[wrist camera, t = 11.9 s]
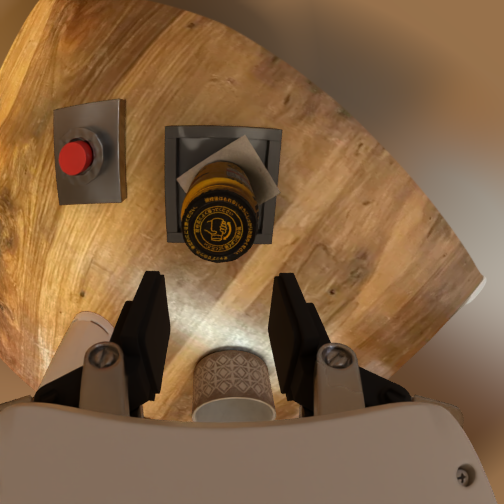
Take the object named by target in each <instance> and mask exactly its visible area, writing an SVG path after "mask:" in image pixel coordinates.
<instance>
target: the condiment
mask: <svg viewBox="0 0 504 504" xmlns="http://www.w3.org/2000/svg"><path fill="white" fill-rule="evenodd" d="M176 180H177V181H178V183H179V184H180V186H181V187H182V188H183V190H184V191H185V193H186V196H185V198H184V201H183V204H182V209H181V220H182V222H181V232H182V235H183V240H184V242H185V243H186V245H187V246H188V247H189V249H190V250H191V251H192V252H193V253H194V254H195V255H197V256H199V257H200V258H202V259H204V260H208V261H211V262H215V263H221V262H228V261H233V260H236V259H237V258H239V257H240V256H242V255H243V254H245V253H246V252H247V251H248V250H249V249H250V248H251V247H252V245H253V243H254V241H255V237H256V236H257V230H258V220H259V208H258V206H259V205H261V204H262V203H264V202H266V201H267V200H269V199H271V198H273V197H275V196H276V195H278V194H280V191H279V189H278V187H277V186H276V184H275V182H274V181H273V179H272V177H271V176H270V174H269V172H268V171H267V169H266V168H265V166H264V164H263V163H262V161H261V159H260V158H259V156H258V154H257V153H256V151H255V150H254V148H253V146H252V145H251V143H250V142H249V140H248V138H247V137H246V135H244V136H242V137H240V138H239V139H237V140H235V141H234V142H232V143H230V144H229V145H227V146H226V147H224V148H222V149H221V150H219V151H218V152H216V153H214V154H213V155H211V156H210V157H208V158H206V159H205V160H203V161H202V162H200V163H199V164H197V165H196V166H194V167H193V168H191V169H190V170H188V171H187V172H185V173H184V174H182V175H181V176H180V177H178V178H177V179H176Z"/></svg>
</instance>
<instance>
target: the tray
mask: <svg viewBox="0 0 504 504" xmlns="http://www.w3.org/2000/svg"><path fill="white" fill-rule="evenodd" d="M244 135H246V137H247V138H248V140H249V142H250V143H251V145H252V146H253V148H254V150H255V151H256V153H257V154H258V156H259V158H260V159H261V161H262V163H263V164H264V166H265V168H266V169H267V171H268V172H269V174H270V176H271V177H272V179H273V181H274V182H275V184H276V186H277V184H278V174H279V162H280V151H281V139H282V130H280V129H273V128H260V127H243V126H213V125H182V126H165V206H166V229H167V242H171V243H185V242H184V240H183V235H182V232H181V222H182V220H181V209H182V204H183V201H184V198H185V196H186V193H185V191H184V190H183V188H182V187H181V186H180V184H179V183H178V181H177V180H176V179H177V178H178V177H180V176H181V175H182V174H184V173H185V172H187V171H188V170H190V169H191V168H193V167H194V166H196V165H197V164H199V163H200V162H202V161H203V160H205V159H206V158H208V157H210V156H211V155H213V154H214V153H216V152H218V151H219V150H221V149H222V148H224V147H226V146H227V145H229V144H230V143H232V142H234V141H235V140H237V139H239V138H240V137H242V136H244ZM275 206H276V196H275V197H273V198H271V199H269V200H267V201H266V202H264V203H262V204H261V205H259V206H258V208H259V220H258V230H257V236H256V237H255V241H254V243H253V244H272V234H273V226H274V216H275Z"/></svg>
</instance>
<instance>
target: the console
mask: <svg viewBox="0 0 504 504" xmlns="http://www.w3.org/2000/svg"><path fill="white" fill-rule="evenodd" d="M125 103H126V100H124V99H113V100H106V101H99V102H92V103H86V104H81V105H75V106H70V107H65V108H60V109H56V110H54V155H55V170H56V181H57V190H58V198H59V205H73V204H95V203H121V202H123V201H124V200H125V199H126V198H127V189H126V169H125ZM79 140H81V141H84V142H86V143H87V144H88V145H89V146H90V148H91V150H92V162H91V164H90V166H89V167H88V168H87V169H86V170H85V171H83V172H81V173H79V174H76V175H68V174H66V173H65V172H64V171H63V170H62V169H61V167H60V164H59V154H60V151H61V149H62V148H63V147H64V146H65V145H66V144H67V143H70V142H74V141H79Z"/></svg>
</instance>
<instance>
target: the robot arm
mask: <svg viewBox="0 0 504 504" xmlns="http://www.w3.org/2000/svg"><path fill="white" fill-rule="evenodd" d="M268 333H269V338H270V343H271V348H272V353H273V357H274V362H275V367H276V371H277V376H278V381H279V386H280V390H281V393H282V394H285V393H286V397H287V401H292V400H294V401H295V402H297V403H298V404H300V412H299V418H295V419H285V420H273V421H257V422H223V423H215V422H182V421H166V420H154V419H144V415H143V406H142V404H144V403H145V402H147V401H148V400H149V401H154V400H155V393H157V394H159V393H160V390H161V383H162V377H163V371H164V365H165V359H166V353H167V347H168V341H169V336H170V320H169V312H168V304H167V296H166V287H165V278H164V275H160V272H159V271H146V272H145V273H144V276H143V278H142V280H141V283H140V285H139V288H138V290H137V292H136V295H135V297H134V300H133V301H126V302H125V304H124V306H123V309H122V311H121V313H120V316H119V318H118V321H117V323H116V326H115V328H114V330H113V333H112V336H111V338H110V341H109V342H108V341H104V342H99V343H96V344H94V345H92V346H91V347H90V348H89V349H88V350H87V351H86V353H85V356H84V362H83V366H81V367H79V368H77V369H75V370H73V371H71V372H69V373H67V374H65V375H63V376H61V377H59V378H57V379H55V380H53V381H51V382H49V383H47V384H45V385H43V386H42V387H40V388H39V389H38V391H37V392H36V394H35V396H34V397H31V396H30V395H28V396H25V397H22V398H19V399H15V400H12V401H9V402H5V403H2V404H0V504H497V502H496V499H495V496H494V493H493V491H492V488H491V486H490V483H489V481H488V478H487V476H486V474H485V471H484V469H483V467H482V465H481V462H480V460H479V458H478V456H477V454H476V452H475V450H474V448H473V446H472V444H471V442H470V441H469V439H468V437H467V436H466V434H465V432H464V431H463V414H462V412H461V411H460V409H459V408H458V407H457V406H454V405H452V404H448V403H444V402H440V401H436V400H432V399H429V398H425V397H422V396H418V395H414V397H411V396H410V395H409V393H408V391H407V390H406V389H405V388H403V387H402V386H400V385H398V384H396V383H393V382H391V381H389V380H387V379H385V378H382V377H380V376H378V375H376V374H374V373H372V372H369V371H367V370H365V369H363V368H361V367H359V366H358V361H357V357H356V354H355V353H354V351H353V350H352V349H351V348H349V347H348V346H346V345H343V344H340V343H331V342H330V340H329V337H328V335H327V333H326V331H325V328H324V326H323V324H322V322H321V319H320V317H319V315H318V313H317V310H316V308H315V306H314V304H313V303H306V301H305V299H304V297H303V294H302V292H301V289H300V287H299V285H298V282H297V280H296V278H295V275H294V273H280V274H279V276H275V278H274V284H273V292H272V300H271V308H270V316H269V324H268Z"/></svg>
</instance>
